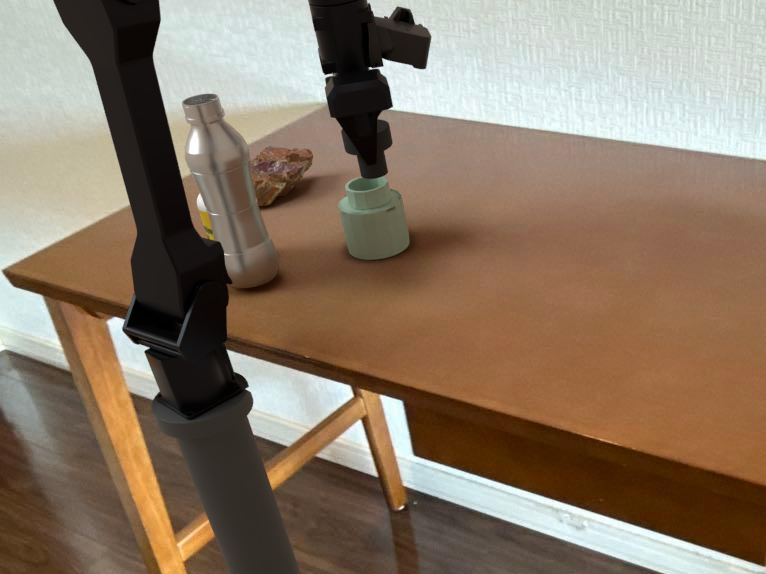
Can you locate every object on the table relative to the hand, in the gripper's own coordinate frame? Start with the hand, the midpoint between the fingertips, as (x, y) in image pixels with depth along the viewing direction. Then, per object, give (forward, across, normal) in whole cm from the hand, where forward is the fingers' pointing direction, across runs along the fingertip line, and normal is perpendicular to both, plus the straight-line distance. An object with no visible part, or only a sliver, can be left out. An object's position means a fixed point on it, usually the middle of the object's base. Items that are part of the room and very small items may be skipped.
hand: (369, 155), depth 111 cm
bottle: (+11, +2, +1) cm, 11 cm away
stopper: (+2, 0, 0) cm, 2 cm away
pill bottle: (+11, +4, +17) cm, 21 cm away
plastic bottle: (+11, -2, +16) cm, 19 cm away
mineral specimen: (+11, +24, +13) cm, 30 cm away
